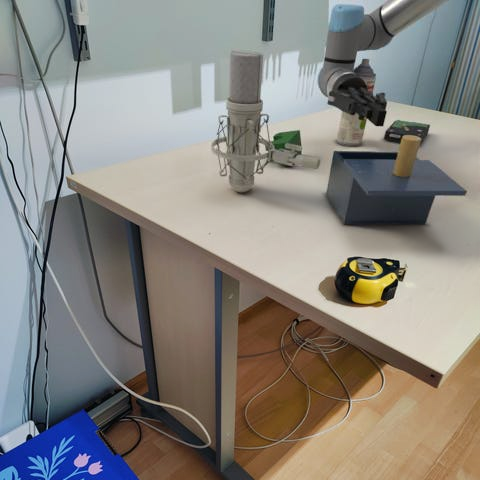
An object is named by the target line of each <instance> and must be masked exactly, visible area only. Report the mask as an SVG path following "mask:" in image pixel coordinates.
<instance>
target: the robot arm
mask: <svg viewBox="0 0 480 480" xmlns="http://www.w3.org/2000/svg"><path fill="white" fill-rule="evenodd" d="M448 1H449V0H387V1H385V2H384V3H383V4H381V5H380V6H379V7H377V8H376V9H375V10H373V11H372V12H370V13H367V14H365V7H364V6H363V5H358V4H345V3H344V4H343V3H342V4H340V3H339V4H335V5H334V6H333V7H332V9H331V13H330V17H329V22H328V25H327V29H328V30H327V34H326V35H327V36H326V43H325V51H324V59H323V64H322V67H321V68H320V70H319V71H318V74H317V78H316V80H317V81H316V82H317V87H318V88H319V90H320V92H321V94H322V96H324V97H326V98H327V104H326V105H329V106H331V107H335V108H337V109H338V110H339V111H341V112H342V111H343V112H346V113H348V114H350V115H355V114H356V113H357V114H358V115H359V118H358V119H359V120H364V117H366V118H367V120H368V121H369V122H370V124H373V125H374V126H375V127H384V126H385V120H386V117H387V112H388V111H387V106H388V101H387V99H386V93H385V92H379V93H376V94H375V95H374V92H373V93H372V92H370V91H368V89H367V85H366V83H365V81H364V80H363V79H362V78H361V77H359V76H358V75H356V74H355V73H353V70H354V69H355V64H356V61H357V60H356V59H357V55H358V54H357V53H358V52H364V51H377V50H380V49H382V48H385V47H386V46H388V45H389V44H390V43H391V42H392V40H393V39H394V37H396V36H397V35H398V34H400V33H402V32H403V31H405V30H406V29H407V28H409V27H410V26H412V25H414V24H415V23H417V22H418V21H419V20H421V19H423V18H424V17H426V16H427V15H428V14H430V13H432V12H433V11H435V10H436V9H438V8H440V7H441V6H442V5H444V4H446V3H447V2H448Z"/></svg>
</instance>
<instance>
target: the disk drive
mask: <svg viewBox="0 0 480 480" xmlns="http://www.w3.org/2000/svg"><path fill="white" fill-rule="evenodd" d="M430 127H431V124H428V123H423V122H422V123H421V122H416V121H407V120H400V119H397V120H394V121H393V123H391V125H390V126H389V127H388V128H387V129H386V130H385V133H384V136H383V140H385V141H389V142H394V143H398V144H401V140H402V137H403V136H404V135H413V136H417V137H420V138H421V142H420V146H421V145H422V143H423V142H424V140H425V139H426V137H427V135H428V133H429V131H430Z"/></svg>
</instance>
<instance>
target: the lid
mask: <svg viewBox="0 0 480 480" xmlns="http://www.w3.org/2000/svg"><path fill="white" fill-rule="evenodd" d="M420 142H421V138H420V137H417V136H413V135H404V136H403V137H402V140H401V143H399V148H398V151H397V152H398V155H397V158H396V160H376V159H344V162H343V164H344V165H345V166H346V168H347V169H348V170H349V172H350V173H351V174H352V176H353V177H354V178H355V180H356V181H357V182H358V183H359V185H360V186H361V187H362V189H363V190H364V191H365V193H366V194H367V195H400V196H435V197H436V196H438V197H439V196H440V197H441V196H442V197H443V196H444V197H447V196H452V197H454V196H456V197H458V196H459V197H462V196H464V197H465V196H467V193H468V190H466V189H465V188H464V187H463V186H462V185H460V184H459V183H458V182H456V181H455V179H453V178H452V177H450V175H448V174H447V173H446V172H445V171H443V170H442V169H441V168H439V167H438V165H436V164H435V163H433V162H432V161H431V160H430V159H420V160H415V159H416V157H417V156H418V152H419V149H420V146H421V145H420Z"/></svg>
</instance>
